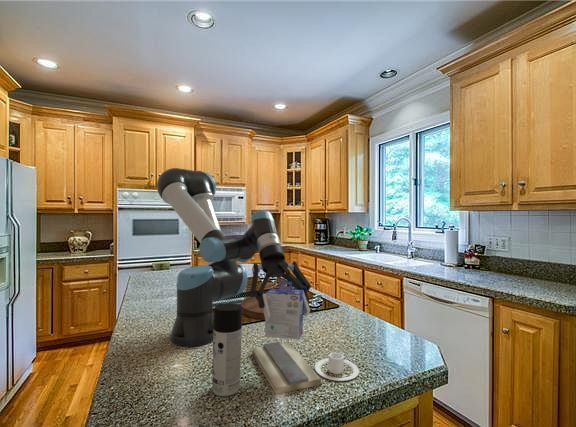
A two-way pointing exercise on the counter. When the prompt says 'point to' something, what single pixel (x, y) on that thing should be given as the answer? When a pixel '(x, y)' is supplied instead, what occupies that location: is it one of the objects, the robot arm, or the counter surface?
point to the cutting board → (253, 308)
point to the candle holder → (336, 367)
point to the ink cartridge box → (285, 312)
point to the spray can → (226, 349)
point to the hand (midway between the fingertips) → (288, 316)
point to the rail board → (285, 367)
